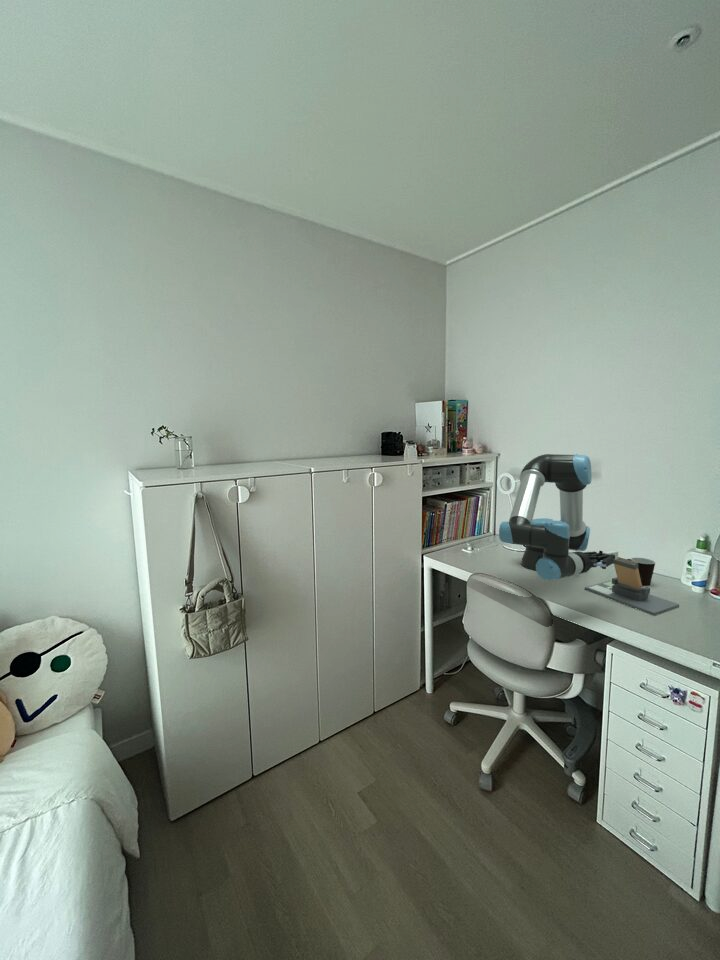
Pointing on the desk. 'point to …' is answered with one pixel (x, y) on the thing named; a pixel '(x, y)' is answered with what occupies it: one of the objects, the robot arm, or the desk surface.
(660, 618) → the desk surface
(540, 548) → the robot arm
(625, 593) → the switch unit
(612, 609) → the desk surface
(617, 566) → the paddle lever
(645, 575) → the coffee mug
